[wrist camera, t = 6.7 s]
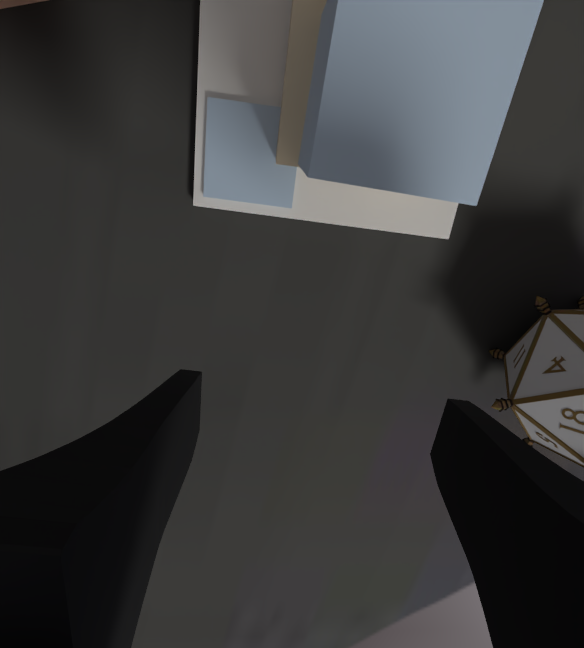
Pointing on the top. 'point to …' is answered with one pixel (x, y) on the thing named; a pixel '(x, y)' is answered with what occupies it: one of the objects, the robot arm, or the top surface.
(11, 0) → the terracotta block
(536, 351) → the game die
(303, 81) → the maple base block
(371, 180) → the blue-grey block
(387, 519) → the top surface
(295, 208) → the mat
